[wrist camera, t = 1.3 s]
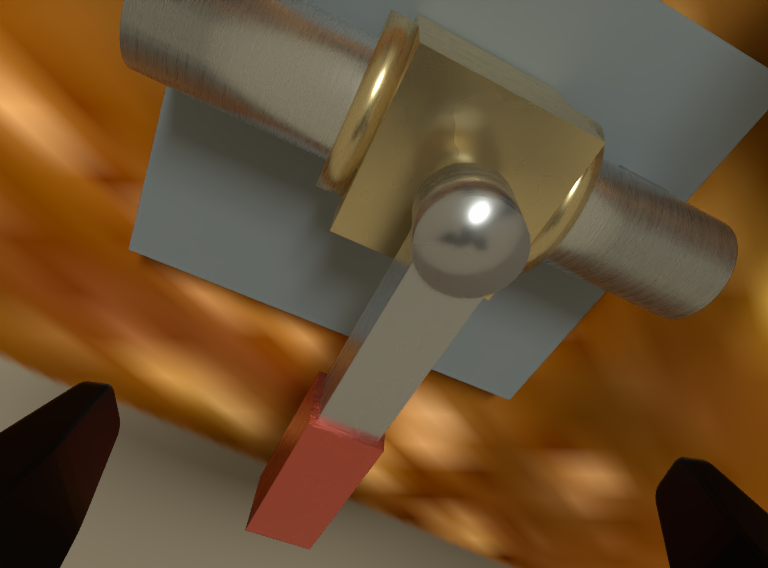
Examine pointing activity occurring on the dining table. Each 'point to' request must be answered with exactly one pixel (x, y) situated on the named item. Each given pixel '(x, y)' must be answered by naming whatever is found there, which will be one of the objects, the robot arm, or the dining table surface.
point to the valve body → (432, 136)
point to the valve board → (368, 267)
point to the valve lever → (392, 347)
